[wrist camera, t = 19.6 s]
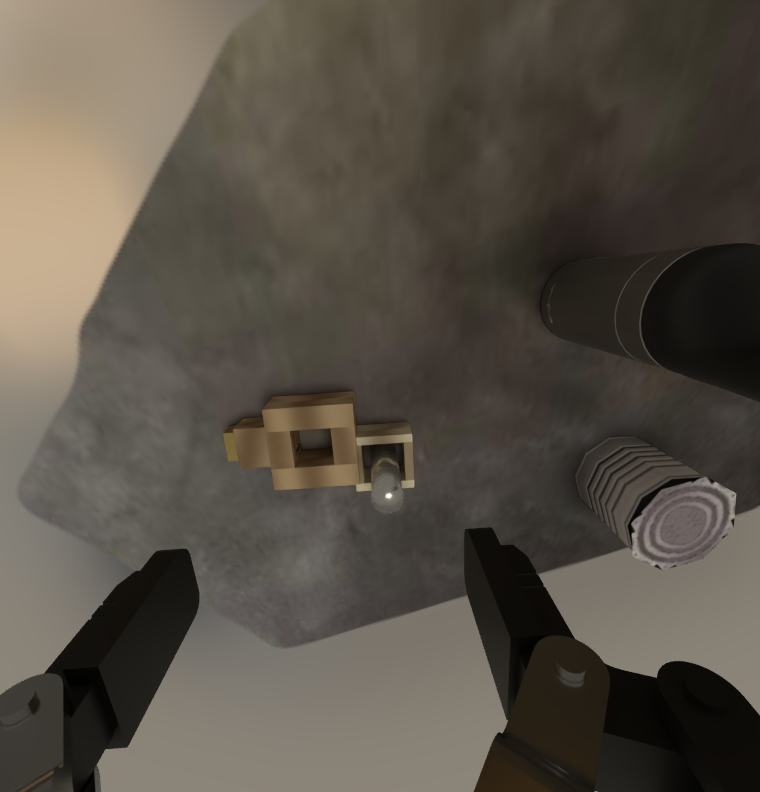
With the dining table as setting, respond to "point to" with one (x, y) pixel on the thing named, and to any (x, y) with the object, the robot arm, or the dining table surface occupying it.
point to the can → (654, 501)
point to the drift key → (231, 443)
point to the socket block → (298, 468)
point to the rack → (384, 436)
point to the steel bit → (385, 479)
